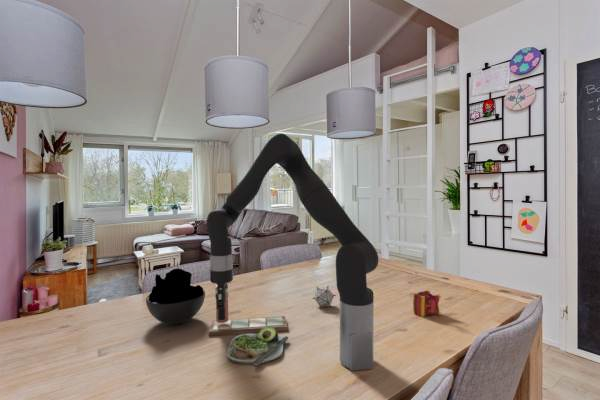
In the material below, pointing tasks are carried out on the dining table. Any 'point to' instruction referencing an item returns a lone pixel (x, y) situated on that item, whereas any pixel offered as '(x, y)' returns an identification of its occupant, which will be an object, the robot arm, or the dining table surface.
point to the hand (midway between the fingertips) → (222, 316)
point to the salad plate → (257, 346)
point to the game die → (323, 296)
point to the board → (247, 325)
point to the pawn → (225, 311)
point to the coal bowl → (175, 297)
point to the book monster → (426, 303)
